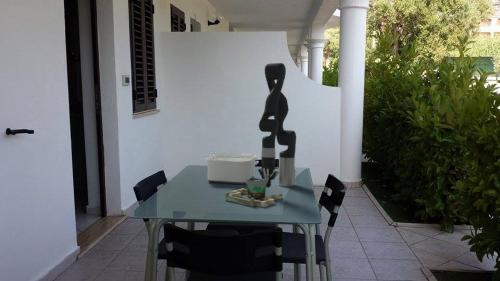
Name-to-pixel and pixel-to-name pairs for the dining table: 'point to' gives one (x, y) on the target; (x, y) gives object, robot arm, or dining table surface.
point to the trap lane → (238, 193)
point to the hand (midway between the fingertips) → (267, 187)
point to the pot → (231, 168)
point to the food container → (256, 188)
